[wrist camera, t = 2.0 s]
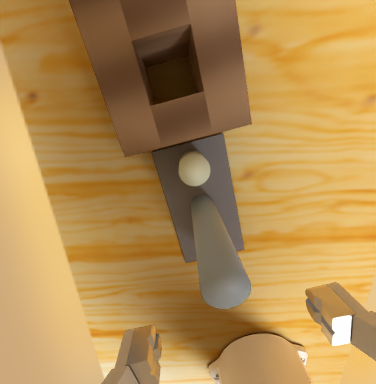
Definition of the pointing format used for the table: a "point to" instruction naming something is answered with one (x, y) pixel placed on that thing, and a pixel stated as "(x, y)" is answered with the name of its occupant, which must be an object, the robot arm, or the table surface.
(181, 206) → the mat
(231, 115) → the socket block
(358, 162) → the table surface
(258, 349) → the robot arm
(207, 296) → the pin long
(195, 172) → the pin short
